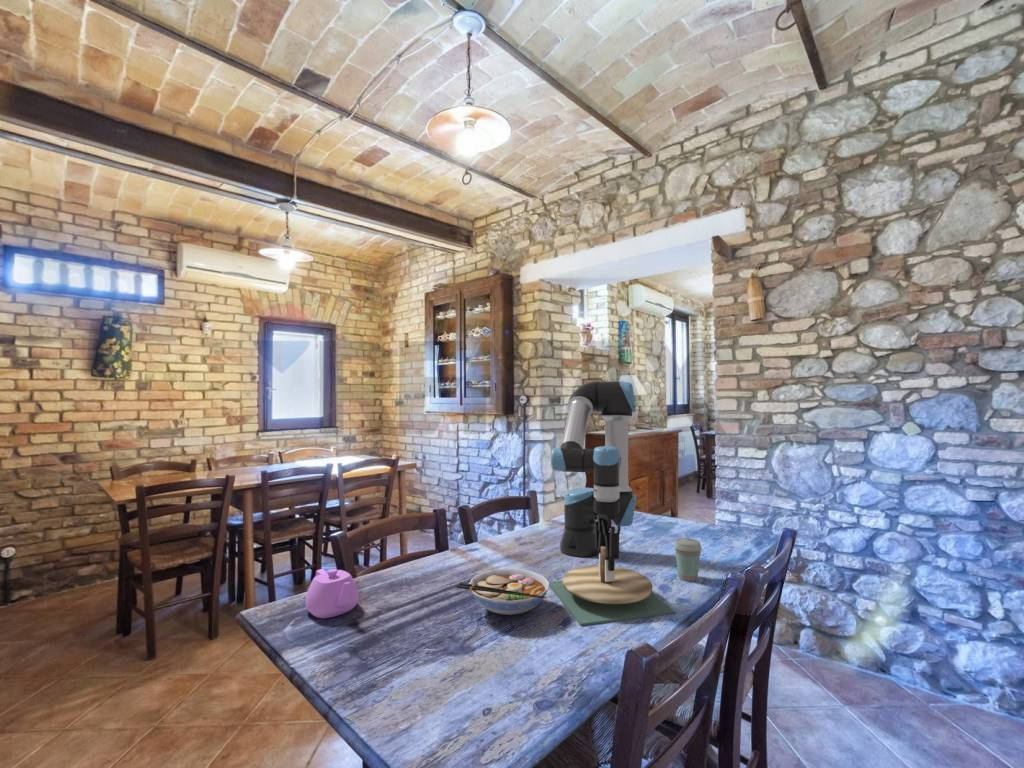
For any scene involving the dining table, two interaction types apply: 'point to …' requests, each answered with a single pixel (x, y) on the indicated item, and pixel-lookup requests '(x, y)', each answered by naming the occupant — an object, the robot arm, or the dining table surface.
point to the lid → (607, 584)
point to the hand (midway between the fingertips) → (606, 577)
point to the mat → (608, 607)
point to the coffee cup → (687, 558)
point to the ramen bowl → (508, 590)
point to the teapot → (331, 593)
